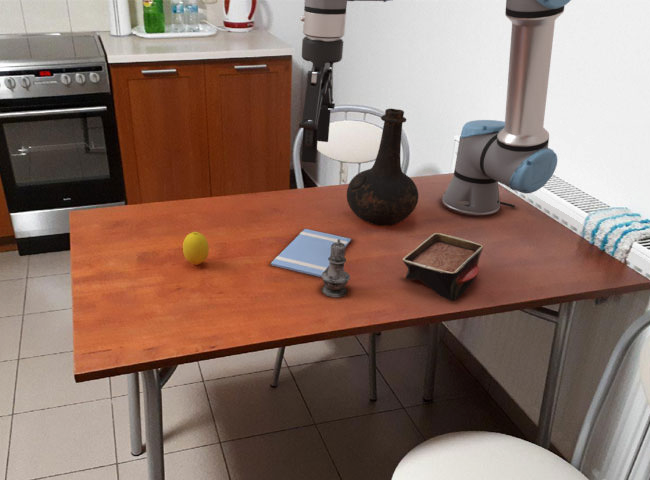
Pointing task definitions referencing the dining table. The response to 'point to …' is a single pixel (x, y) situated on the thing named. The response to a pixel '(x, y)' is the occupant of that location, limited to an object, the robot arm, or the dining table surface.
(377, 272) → the dining table surface
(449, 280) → the baking dish
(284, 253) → the cloth
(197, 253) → the lemon
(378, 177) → the glass bottle
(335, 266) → the salt shaker
